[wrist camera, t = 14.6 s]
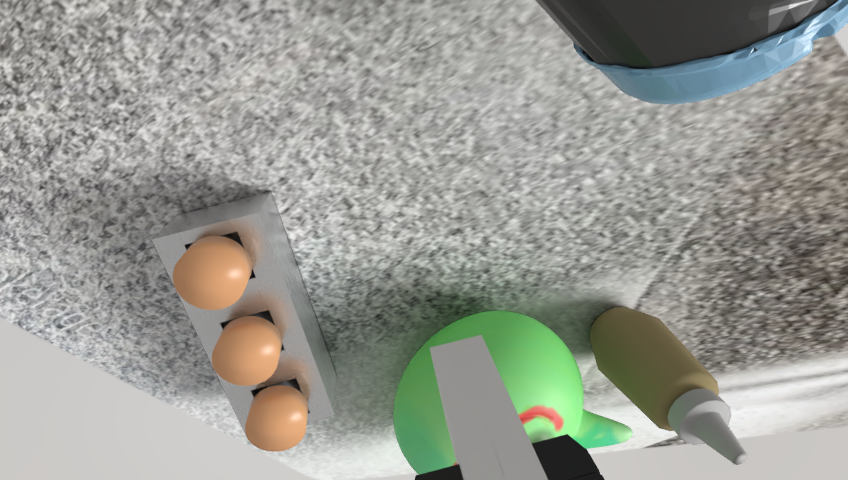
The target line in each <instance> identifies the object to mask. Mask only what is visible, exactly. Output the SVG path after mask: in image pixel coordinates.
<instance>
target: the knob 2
mask: <svg viewBox="0 0 848 480" xmlns="http://www.w3.org/2000/svg"><path fill="white" fill-rule="evenodd" d="M299 387H300V386H299V384H298V381H297V379H296V378H294V379H290V380H287V381H283V382H280V383H276V384H272V385H269V386H268V388H265V389H263V390H262V391H260V392H259V393H258V394H257V395H256V396H255V397H254V398H253V400H252V403H251V406H250V410H249V413H248V417H247V421H246V424H245V433H246V436H247V438H248V440H249V441H250V442H251V443H252V444H253V445H255V446H256V447H258V448H260V449H263V450H266V451H283V450H287V449H289V448H292V447H293V446H295V445H296V444H298V443H299V442H300V441H301V440H302V438H303V437H304V435H305V432H306V425H307V416H308V402H307V400H306V398H305V396H304V395H303V394H302V393H301V392H300V391H299Z"/></svg>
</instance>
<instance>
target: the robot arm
mask: <svg viewBox="0 0 848 480" xmlns="http://www.w3.org/2000/svg"><path fill="white" fill-rule="evenodd" d="M536 1H537V3H538V4H539V5H540V6H541V7H542V8H543V9H544V10H545V11H546V12H547V13H548V15H549V16H550V17H551V18H552V19H553V20H554V21H555V22H556V23H557V24H558V26H559V27H560V28H561V29H562V30H563V31H564V32H565V33H566V34H567V35H568V36H569V38H570V39H571V40H572V41H573V43H574V48H575V50H576V51H577V52H578V54H579V55H580V56H581V57H582V58H583V59H584V60H585V61H586V62H587V63H589V64H590V65H593V66H594V67H596V68H597V69H600V70H601V71H602V72H603V73H604V74H605V75H606V76H607V77H608V78H609V79H610V80H611V81H612V82H613V83H614V84H615V85H616V86H617V87H618V88H619V89H620V90H621V91H623V92H624V93H626V94H627V95H629V96H633V97H635V98H637V99H639V100H642V101H645V102H649V103H656V104H684V103H691V102H697V101H702V100H706V99H710V98H714V97H718V96H721V95H725V94H728V93H731V92H734V91H737V90H740V89H742V88H745V87H748V86H750V85H752V84H755V83H757V82H759V81H762V80H764V79H766V78H768V77H770V76H772V75H774V74H776V73H778V72H780V71H781V70H783V69H785V68H787V67H789V66H790V65H792V64H794V63H795V62H797V61H799V60H800V59H802V58H803V57H805V56H806V55H808V54H809V53H810V52H811V51H812V48H813V42H812V41H814V40H816V39H818V38H822V37H827V36H831V35H834V34H836V33H837V32H838V31H839V30H840V29H841V28H842V27H843V26H844V25H846V24H847V23H848V0H536ZM430 352H431V357H432V361H433V365H434V370H435V374H436V379H437V383H438V388H439V392H440V397H441V401H442V405H443V410H444V414H445V419H446V423H447V427H448V431H449V435H450V439H451V443H452V446H453V450H454V454H455V458H456V462H457V465H454V466H450V467H446V468H442V469H439V470H435V471H431V472H427V473H423V474H420V475H416V477H415V480H604V478H603V476H602V475H600V472H599V470H598V468H597V466H596V465H595V463H594V462H593V460H592V458H591V456H590V454H589V453H588V451H587V449H585V448H584V447H583V446H582V445H580V444H579V443H578V442H577V441H575V440H574V439H573V438H572V437H570V436H569V435H568V434H566V435H562V436H558V437H554V438H551V439H547V440H543V441H539V442H535V443H532V444H531V442H530V439H529V437H528V435H527V433H526V431H525V429H524V426H523V424H522V422H521V420H520V418H519V415H518V413H517V411H516V409H515V407H514V405H513V402H512V400H511V398H510V396H509V394H508V392H507V389H506V387H505V385H504V383H503V381H502V378H501V376H500V374H499V372H498V370H497V368H496V365H495V363H494V361H493V359H492V357H491V355H490V352H489V350H488V348H487V346H486V344H485V341H484V339H483V337H482V335H479V336H475V337H471V338H467V339H463V340H459V341H455V342H451V343H446V344H442V345H438V346H434V347H430Z"/></svg>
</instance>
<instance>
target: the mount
mask: <svg viewBox="0 0 848 480" xmlns="http://www.w3.org/2000/svg"><path fill="white" fill-rule="evenodd" d="M233 232H238V234H239V237H240V239H241V242H242V244H243V247H244V249H245V250H246V251H247V253H248V255H249V257H250V259H251V263H252V272H251V276H250V278H249V281H248V283H247V285H246V287H245V290H244V292H243V294H242V296H241V297H240V298H239V299H238V301H236V302H235V303H234V304H232V305H231V306H229V307H227V308H223V309H219V310H205V309H201V308H198V307H195V306H193V305H191V304H189V303H188V302H186V301H185V300H184V299H183V298H182V297H181V296H180V295H179V294H178V295H179V297H180V299H181V302H182V304H183V306H184V308H185V310H186V312H187V314H188V316H189V318H190V320H191V322H192V324H193V326H194V329H195V331H196V333H197V335H198V337H199V339H200V341H201V343H202V345H203V347H204V349H205V351H206V353H207V356H208V358H209V360H210V362H211V364H212V353H213V350H214V348H215V345H216V343H217V341H218V339H219V337H220V334H221V332H222V330H223V329H224V327H225V326H226V325H227V324H228V323H229V322H231V321H233V320H235V319H237V318H240V317H244V316H247V315H251V314H255V313H259V312H263V311H266V310H269V311H270V314H271V316H272V319H273V321H274V324H275V327H276V328H277V329H278V330H279V332H280V334H281V337H282V347H281V352H280V356H279V361H278V365H277V368H276V370H275V372H274V373H273V375H272V376H271V377H270V378H268V379H267V380H266V381H264V382H262V383H259V384H256V385H251V386H240V385H235V384H232V383H229V382H227V381H226V380H224V379H223V378H221V377H220V376H219V375H218V374H217V373H216V374H217V376H218V378H219V380H220V382H221V385H222V387H223V389H224V391H225V393H226V395H227V397H228V399H229V401H230V403H231V405H232V407H233V409H234V412H235V414H236V416H237V418H238V420H239V422H240V424H241V426H242V428H243V430H244V432H245V424H246V421H247V417H248V413H249V410H250V406H251V403H252V400H253V398H254V397H255V396H256V395H257V394H258V393H259V392H260V391H262V390H263V389H265V388H268V386H269V385H272V384H276V383H280V382H283V381H287V380H290V379H294V378H296V379H297V381H298V384H299V386H300V387H299V391H300V392H301V393H302V394H303V395H304V396H305V398H306V400H307V402H308V416H307V423H309V422H313V421H316V420H320V419H323V418H327V417H331V416H334V415H335V403H336V371H335V369H334V366H333V363H332V360H331V357H330V355H329V352H328V349H327V346H326V343H325V341H324V338H323V335H322V332H321V329H320V327H319V324H318V321H317V318H316V315H315V313H314V310H313V307H312V304H311V301H310V299H309V296H308V293H307V290H306V287H305V285H304V282H303V279H302V276H301V273H300V271H299V268H298V265H297V262H296V259H295V257H294V254H293V251H292V248H291V245H290V243H289V240H288V237H287V234H286V231H285V229H284V226H283V223H282V220H281V217H280V215H279V212H278V209H277V206H276V203H275V201H274V198H273V195H272V192H271V191H270V192H266V193H262V194H258V195H254V196H250V197H246V198H242V199H238V200H234V201H230V202H226V203H222V204H218V205H214V206H209V207H205V208H201V209H197V210H193V211H189V212H185V213H181V214H178V215H177V216H176V217H175V218H174V219H173V220H172V221H171V222H170V223H169V224H168V225H166V226H165V227H164V228H163V229H162V230H161V231H160V232H159V233H158V234H157V235H156V236H155V237H154V238H153V239H152V241H153V243H154V246H155V248H156V250H157V252H158V254H159V256H160V258H161V260H162V262H163V264H164V266H165V268H166V270H167V273H168V275H169V277H170V279H171V281H172V283H173V270H174V267H175V265H176V263H177V262H178V260H179V259H180V258H181V257H182V256H183V254H184V253H185V252H186V251H187V250H188V248H189V247H190V246H191V245H192V244H193V243H194V242H196V241H197V240H199V239H201V238H204V237H209V236H221V235H225V234H229V233H233ZM173 285H174V283H173ZM174 287H175V286H174ZM176 291H177V290H176ZM177 293H178V292H177ZM212 366H213V365H212ZM213 368H214V367H213ZM214 370H215V369H214ZM215 372H216V371H215ZM245 434H246V433H245Z"/></svg>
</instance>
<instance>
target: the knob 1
mask: <svg viewBox="0 0 848 480" xmlns="http://www.w3.org/2000/svg"><path fill="white" fill-rule="evenodd" d="M251 272H252V263H251V259H250V257H249V255H248V253H247V251H246V250H245V249H244V247H243V244H242V242H241V239H240V237H239V234H238V232H233V233H229V234H225V235H221V236H209V237H204V238H201V239H199V240H197V241H196V242H194V243H193V244H192V245H191V246H190V247H189V248H188V250H187V251H186V252H185V253H184V254H183V256H182V257H181V258H180V259H179V260H178V262H177V263H176V265H175V267H174V270H173V283H174V286H175V289H176V290H177V292H178V294H179V295H180V296H181V297H182V298H183V299H184V300H185V301H186V302H188V303H189V304H191V305H193V306H195V307H198V308H201V309H205V310H219V309H223V308H227V307H229V306H231V305H232V304H234V303H235V302H236V301H238V299H239V298H240V297H241V296H242V294H243V292H244V290H245V287H246V285H247V283H248V281H249V278H250V276H251Z"/></svg>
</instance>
